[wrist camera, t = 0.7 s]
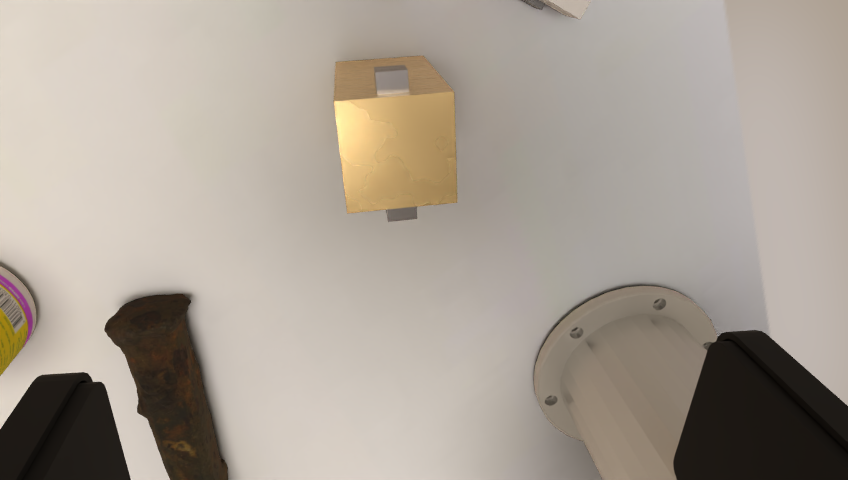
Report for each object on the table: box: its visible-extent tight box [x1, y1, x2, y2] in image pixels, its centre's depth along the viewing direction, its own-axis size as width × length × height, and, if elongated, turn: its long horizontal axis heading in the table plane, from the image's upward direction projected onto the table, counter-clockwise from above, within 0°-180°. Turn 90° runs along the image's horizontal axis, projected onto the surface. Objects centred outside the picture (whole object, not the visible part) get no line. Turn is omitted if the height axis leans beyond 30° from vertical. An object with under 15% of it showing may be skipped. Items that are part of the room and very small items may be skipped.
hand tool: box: [104, 294, 228, 480], centre depth 35 cm, size 19×4×5 cm, turn 1°
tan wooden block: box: [334, 56, 457, 222], centre depth 26 cm, size 4×6×9 cm
